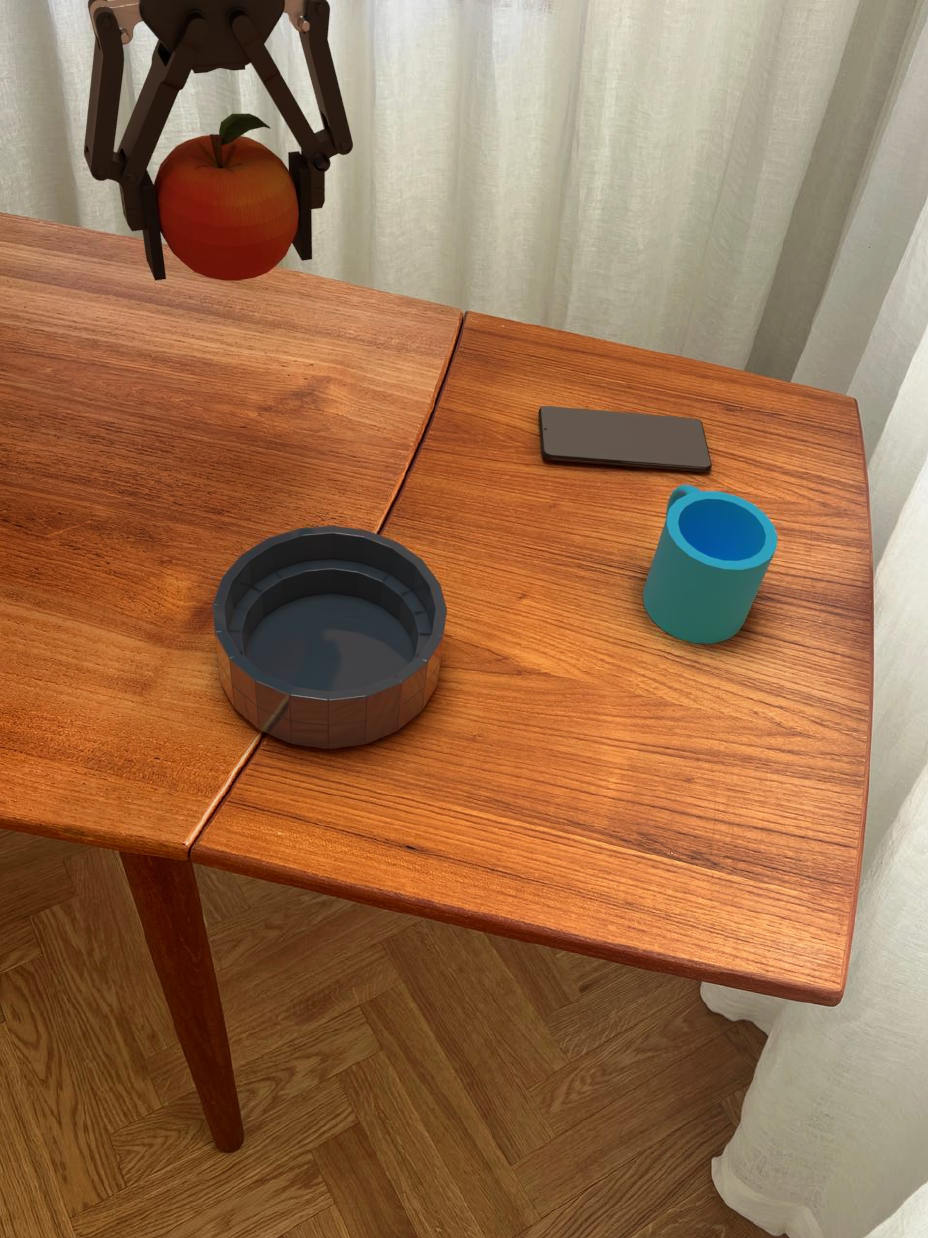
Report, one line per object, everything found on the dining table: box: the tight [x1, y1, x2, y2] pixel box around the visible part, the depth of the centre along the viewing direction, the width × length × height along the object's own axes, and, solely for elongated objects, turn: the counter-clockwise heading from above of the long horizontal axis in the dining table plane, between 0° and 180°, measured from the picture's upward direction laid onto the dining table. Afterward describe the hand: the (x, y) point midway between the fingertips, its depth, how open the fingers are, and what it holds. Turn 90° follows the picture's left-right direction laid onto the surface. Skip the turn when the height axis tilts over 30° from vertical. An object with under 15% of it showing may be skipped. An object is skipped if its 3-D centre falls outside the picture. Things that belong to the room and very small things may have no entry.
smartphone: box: [537, 405, 713, 473], centre depth 98 cm, size 7×1×15 cm
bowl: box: [211, 525, 448, 750], centre depth 77 cm, size 16×16×6 cm
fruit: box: [153, 113, 299, 282], centre depth 74 cm, size 10×10×10 cm
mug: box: [641, 484, 779, 645], centre depth 85 cm, size 12×8×8 cm
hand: (230, 259), depth 77 cm, fingers closed on fruit, 9 cm apart
